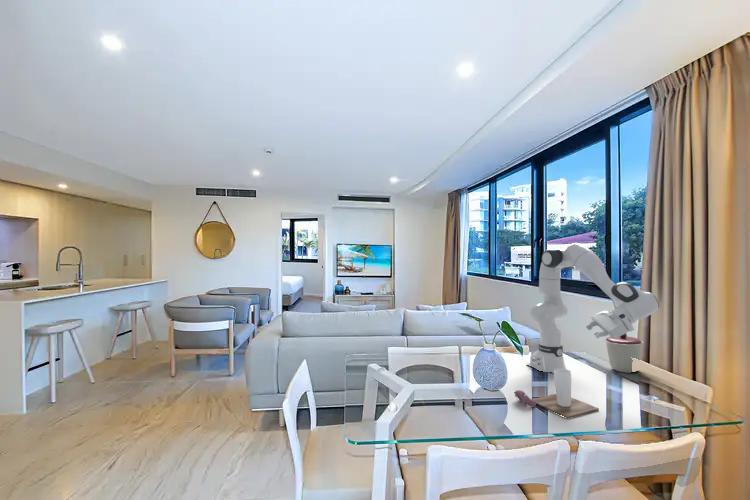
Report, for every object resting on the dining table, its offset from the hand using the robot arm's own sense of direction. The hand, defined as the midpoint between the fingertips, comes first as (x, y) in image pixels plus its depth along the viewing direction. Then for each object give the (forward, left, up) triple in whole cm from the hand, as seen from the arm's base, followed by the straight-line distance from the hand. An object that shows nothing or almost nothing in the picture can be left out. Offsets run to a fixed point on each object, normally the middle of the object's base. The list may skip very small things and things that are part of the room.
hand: (591, 332), depth 166 cm
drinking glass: (0, -19, -30) cm, 35 cm away
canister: (-21, +50, -31) cm, 62 cm away
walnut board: (-1, -18, -31) cm, 36 cm away
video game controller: (-11, -31, -31) cm, 45 cm away
